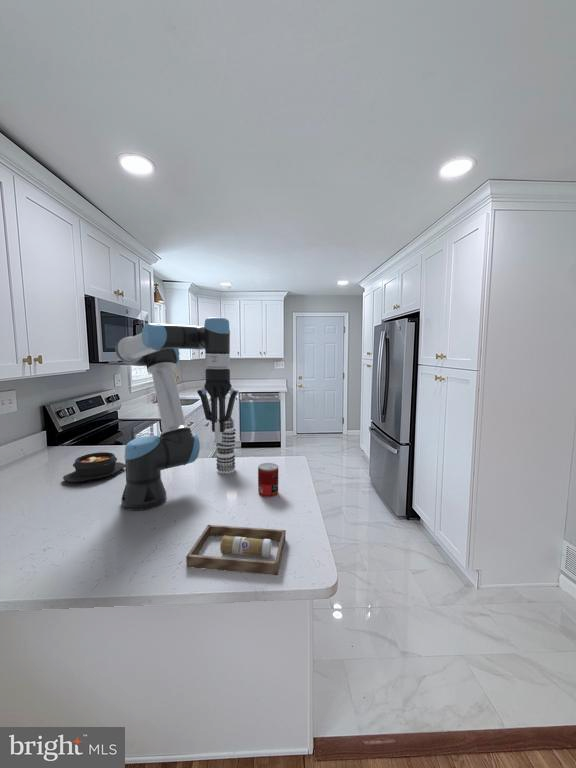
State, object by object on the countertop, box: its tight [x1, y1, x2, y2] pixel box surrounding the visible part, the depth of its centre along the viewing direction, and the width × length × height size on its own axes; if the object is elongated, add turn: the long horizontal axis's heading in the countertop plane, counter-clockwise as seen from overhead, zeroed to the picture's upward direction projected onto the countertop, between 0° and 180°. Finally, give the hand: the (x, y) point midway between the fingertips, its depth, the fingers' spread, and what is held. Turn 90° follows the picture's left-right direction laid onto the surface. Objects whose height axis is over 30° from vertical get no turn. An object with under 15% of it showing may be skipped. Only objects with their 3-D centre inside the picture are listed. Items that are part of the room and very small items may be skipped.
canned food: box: [257, 462, 279, 498], centre depth 129 cm, size 8×8×11 cm
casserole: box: [62, 451, 126, 483], centre depth 146 cm, size 25×19×8 cm
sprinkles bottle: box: [219, 535, 272, 559], centre depth 90 cm, size 5×5×14 cm
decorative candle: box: [215, 417, 237, 475], centre depth 152 cm, size 9×9×25 cm
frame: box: [185, 524, 287, 576], centre depth 90 cm, size 24×16×3 cm, turn 83°
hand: (218, 441), depth 105 cm, fingers closed
